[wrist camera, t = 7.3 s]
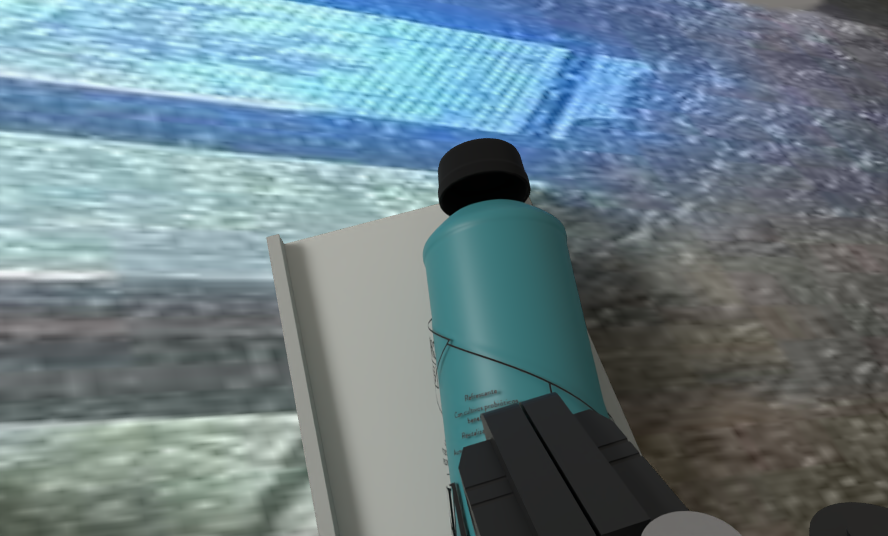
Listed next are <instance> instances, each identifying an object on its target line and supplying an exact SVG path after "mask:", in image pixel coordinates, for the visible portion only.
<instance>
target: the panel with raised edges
mask: <svg viewBox="0 0 888 536" xmlns="http://www.w3.org/2000/svg"><path fill="white" fill-rule="evenodd" d="M525 203H526V204H529V205H532V202H531V200H530V198H529V197H528V199H527V200H526V201H525ZM532 206H533V205H532ZM449 217H450V216H448V215H447V214H445V213H444V212H443V211H442V209H441V208H440V205H439V204H436V205H432V206H428V207H424V208H421V209H417V210H413V211H409V212H405V213H401V214H398V215H394V216H390V217H386V218H382V219H378V220H375V221H371V222H367V223H363V224H359V225H356V226H352V227H348V228H344V229H340V230H336V231H333V232H329V233H325V234H321V235H317V236H314V237H310V238H306V239H302V240H298V241H294V242H291V243H287V244H284V243H283V241H282V239H281V238H280V236H279V234H277V235H274V236H270V237H266V238H267V244H268V249H269V255H270V261H271V266H272V272H273V278H274V283H275V289H276V295H277V300H278V306H279V312H280V317H281V323H282V329H283V334H284V340H285V346H286V351H287V357H288V363H289V368H290V374H291V380H292V385H293V391H294V397H295V402H296V408H297V414H298V420H299V425H300V431H301V437H302V442H303V448H304V454H305V459H306V465H307V471H308V476H309V482H310V488H311V493H312V499H313V505H314V510H315V516H316V522H317V527H318V533H319V536H453V531H452V530H451V523H452V519H451V521H450V517H451V510H450V502H449V493H448V489H447V488H451V486H449V484H451V483H450V475H447V474H449V466H448V463H447V461H446V460H448V458H447V454H446V453H445V452H446V451H445V450H447V449H446V446H445V445H446V442H445V441H444V440H445V432H444V424H443V415H442V413H441V411H442V407H441V398H440V390H439V389H438V388H437V387H439V381H438V383H437V378H438V373H437V374H436V370H437V365H435V364H434V363H436V360H435V358H433V356H434V354H435V348H434V347H433V345H434V344H433V341H434V339H433V333H432V332H431V331H430V330H429V328H430V329H431V330H432V320H431V321H430V319H431V318H432V315H431V307H430V299H429V291H428V283H427V275H426V268H425V265H424V262H423V249H424V246H425V243H426V241H427V240H428V238H429V237H430V236H431V234H432V233H433V232H434V231H435V230H436V229H437V228H438V227H439V226H440V225H441V224H442V223H443V222H444V221H445V220H446V219H447V218H449ZM429 321H430V323H429V324H428V322H429ZM428 326H429V328H428ZM587 333H588V331H587ZM429 337H430V339H431V340H432V342H431V343H430V339H429ZM588 337H589V341H590V345H591V350H592V354H593V358H594V362H595V367H596V371H597V375H598V379H599V384H600V388H601V392H602V396H603V401H604V404H605V406H606V409H607V412H608V413H609V414H610V416H611V417H612V418H613V420H614V421H613V420H612V418H611V417H610V416H609V415H608V416H609V419H610V420H612V421H613V422H615V424H616V425H617V426H618V428H619V429H620V430H621V431H622V432H623V434H624V435H625V436H626V437H627V439H628V441H630V442H631V443H632V444H633V445H634V446H635V448H636V449H637V450H638V451H639V453H640V455H641V456H642V454H641V452H640V450H639V448H638V445H637V443H636V441H635V438H634V436H633V434H632V432H631V429H630V427H629V425H628V422H627V420H626V418H625V416H624V413H623V411H622V409H621V406H620V404H619V402H618V399H617V397H616V395H615V393H614V390H613V388H612V386H611V383H610V381H609V379H608V377H607V374H606V372H605V370H604V367H603V365H602V363H601V361H600V358H599V356H598V354H597V351H596V349H595V347H594V344H593V342H592V340H591V338H590V335H589V333H588ZM430 345H431V346H432V347H433V351H434V352H433V351H432V352H431V348H430V347H431V346H430ZM431 353H432V354H431ZM435 357H436V356H435ZM432 360H433V361H432ZM433 362H434V363H433ZM432 364H433V365H432ZM433 366H434V368H435V370H434V368H433ZM433 370H434V371H433ZM434 372H435V373H434ZM433 373H434V374H433ZM434 375H435V376H436V382H435V380H434V379H435V376H434ZM434 382H435V383H434ZM435 385H436V386H437V387H436V386H435ZM435 390H436V392H435ZM436 397H437V398H436ZM437 401H438V403H437ZM438 404H439V406H438ZM439 407H440V409H441V411H440V409H439ZM442 448H443V449H444V450H443V451H442ZM444 451H445V452H444ZM443 452H444V453H443ZM445 454H446V455H445ZM443 458H444V459H445V460H443ZM444 461H446V462H445V463H444ZM444 464H447V465H444ZM446 486H447V488H446ZM447 495H448V496H447ZM451 499H452V492H451ZM452 508H453V500H452ZM449 511H450V512H449ZM453 516H454V509H453ZM454 525H455V519H454Z"/></svg>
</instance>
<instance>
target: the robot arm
mask: <svg viewBox="0 0 888 536" xmlns="http://www.w3.org/2000/svg"><path fill="white" fill-rule="evenodd" d="M481 419H482V424H483V429H484V433H485V438H486V441H482V442H479V443H476V444H472V445H469V446H466V447H463V450H462V454H461V458H460V462H459V466H458V469H459V473H460V477H461V481H462V485H463V489H464V493H465V497H466V501H467V505H468V509H469V513H470V517H471V521H472V525H473V529H474V532H475V535H476V536H742V535H741V534H740V533H739V532H738V531H736V530H735V529H734V528H733V527H732V526H730V525H729V524H727V523H726V522H724V521H722V520H720V519H718V518H716V517H714V516H711V515H708V514H704V513H699V512H692V511H689V510H688V509H687V508H686V506H685V505H684V504H683V503H682V502H681V501H680V499H679V498H678V497H677V496H676V495H675V494H674V492H673V491H672V490H671V489H670V488H669V486H668V485H667V484H666V483H665V482H664V481H663V479H662V478H661V477H660V476H659V475H658V474H657V472H656V471H655V470H654V469H653V468H652V466H651V465H650V464H649V463H648V462H647V461H646V459H645V458H644V457H643V456H641V455H640V453H639V451H638V450H637V449H636V448H635V446H634V445H633V444H632V443H631V442H630V441H628V439H627V437H626V436H625V435H624V434H623V432H622V431H621V430H620V429H619V428H618V426H617V425H616V424H615V423H614V422H613V421H612V420H610V419H608V418H606V417H604V416H603V415H601V414H599V413H597V412H595V411H593V410H591V409H588V410H585V411H582V412H578V413H575V414H572V412H571V411H570V410H569V408H568V407H567V406H566V404H565V403H564V401H563V400H562V399H561V397H560V396H559V395H558V394H557V393H556V392H552V393H549V394H545V395H542V396H539V397H535V398H532V399H529V400H525V401H522V402H519V404H518V403H515V404H511V405H508V406H505V407H501V408H498V409H495V410H491V411H488V412H485V413H481ZM809 536H888V508H885V507H881V506H877V505H872V504H866V503H856V502H847V503H838V504H833V505H830V506H827V507H825V508H823V509H821V510H820V511H818V512H817V513H816V514H815V515H814V517H813V518H812V520H811V522H810V528H809Z"/></svg>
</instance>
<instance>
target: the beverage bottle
mask: <svg viewBox="0 0 888 536" xmlns="http://www.w3.org/2000/svg"><path fill="white" fill-rule="evenodd" d="M438 180H439V189H438V197H439V205H440V208H441V209H442V211H443V212H444V213H445V214H447V215H448V216H450V217H449V218H447V219H446V220H445V221H444V222H443V223H442V224H441V225H440V226H439V227H438V228H437V229H436V230H435V231H434V232H433V233H432V234H431V236H430V237H429V238H428V240H427V241H426V243H425V246H424V249H423V262H424V265H425V268H426V275H427V283H428V291H429V299H430V307H431V315H432V318H431V319H430V321H431V320H432V330H431V329H430V328H429V326H428V328H429V330H430V331H431V332H432V333H433V339H434V341H433V344H434V345H433V347H434V348H435V354H434V356H433V358H435V360H436V363H434V362H433V363H434V364H435V365H437V370H436V374H437V373H438V378H437V383H438V381H439V387H437V386H436V385H435V386H436V387H437V388H438V389H439V390H440V398H441V407H442V411H441V409H440V407H439V409H440V411H441V413H442V415H443V424H444V432H445V440H444V441H445V442H446V445H445V446H446V449H447V450H445V451H446V452H445V451H444V452H445V453H446V454H447V458H448V460H446V461H447V463H448V466H449V474H447V475H450V483H451V484H449V486H451V488H447V486H446V488H447V489H448V493H449V502H450V510H451V517H450V521H451V519H452V523H451V530H452V531H453V536H476V535H475V532H474V529H473V525H472V521H471V517H470V513H469V509H468V505H467V501H466V497H465V493H464V489H463V485H462V481H461V477H460V473H459V469H458V466H459V462H460V458H461V454H462V450H463V447H466V446H469V445H472V444H476V443H479V442H482V441H486V438H485V433H484V429H483V424H482V419H481V413H485V412H488V411H491V410H495V409H498V408H501V407H505V406H508V405H511V404H515V403H518V404H519V402H522V401H525V400H529V399H532V398H535V397H539V396H542V395H545V394H549V393H552V392H556V393H557V394H558V395H559V396H560V397H561V399H562V400H563V401H564V403H565V404H566V406H567V407H568V408H569V410H570V411H571V412H572V414H575V413H578V412H582V411H585V410H588V409H591V410H593V411H595V412H597V413H599V414H601V415H603V416H604V417H606V418H608V419H609V416H610V414H609V413H608V412H607V409H606V406H605V404H604V401H603V396H602V392H601V388H600V384H599V379H598V375H597V371H596V367H595V362H594V358H593V354H592V350H591V345H590V341H589V337H588V333H587V328H586V324H585V320H584V316H583V311H582V307H581V303H580V299H579V294H578V290H577V286H576V282H575V277H574V273H573V269H572V264H571V260H570V256H569V252H568V247H567V235H566V231H565V228H564V226H563V225H562V223H561V222H560V221H559V220H558V219H557V218H556V217H554V216H553V215H551V214H549V213H547V212H545V211H543V210H541V209H539V208H537V207H534V206H532V205H529V204H526V203H525V201H526V200H527V199H528V197H529V195H530V184H529V179H528V176H527V174H526V172H525V170H524V167H523V164H522V160H521V157H520V154H519V152H518V151H517V149H516V148H515V147H514V146H513V145H512V144H510V143H508V142H506V141H503V140H500V139H493V138H483V139H475V140H471V141H467V142H464V143H462V144H459V145H457V146H455V147H454V148H452V149H451V150H449V151H448V152H447V153H446V154H445V155H444V156H443V158H442V159H441V161H440V164H439V167H438ZM430 321H429V322H428V324H429V323H430ZM429 339H430V337H429ZM431 342H432V340H431V339H430V343H431ZM430 346H431V345H430ZM433 347H432V346H431V347H430V348H431V352H432V351H433ZM433 352H434V351H433ZM431 354H432V353H431ZM435 356H436V357H435ZM432 361H433V360H432ZM432 365H433V364H432ZM433 368H434V366H433ZM434 370H435V368H434ZM434 370H433V371H434ZM434 373H435V372H434ZM434 373H433V374H434ZM434 376H435V375H434ZM434 380H435V382H436V376H435V379H434ZM435 382H434V383H435ZM435 392H436V390H435ZM436 398H437V397H436ZM437 403H438V401H437ZM438 406H439V404H438ZM608 415H609V416H608ZM610 417H611V416H610ZM611 418H612V417H611ZM612 420H613V418H612ZM613 421H614V420H613ZM614 423H615V422H614ZM443 450H444V449H443V448H442V451H443ZM444 452H443V453H444ZM446 454H445V455H446ZM443 460H445V459H444V458H443ZM446 461H444V463H445V462H446ZM444 465H447V464H444ZM451 492H452V499H451ZM447 496H448V495H447ZM452 500H453V508H452ZM453 509H454V516H453ZM449 512H450V511H449ZM454 519H455V525H454Z"/></svg>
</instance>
